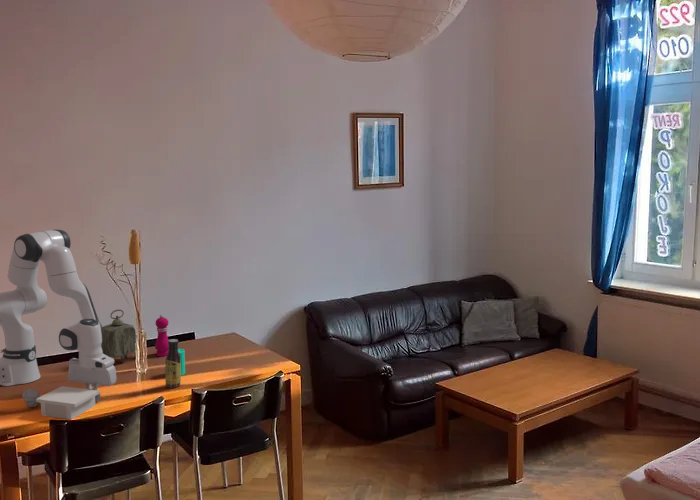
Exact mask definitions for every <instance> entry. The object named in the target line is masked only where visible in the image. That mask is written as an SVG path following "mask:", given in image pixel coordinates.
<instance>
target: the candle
mask: <svg viewBox="0 0 700 500" xmlns="http://www.w3.org/2000/svg"><path fill="white" fill-rule="evenodd" d="M178 352H179V353H180V356H181V376H183V375H185V374H186V361H185V360H186V358H185V355H186V354H185V349H184V348H178Z"/></svg>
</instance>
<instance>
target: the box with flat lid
mask: <svg viewBox="0 0 700 500" xmlns="http://www.w3.org/2000/svg"><path fill="white" fill-rule="evenodd" d="M99 393H100V390H98V389H97V390H89V389H87V388H80V387H79V388H78V387H70V386H63V385H61V386H59V387H58V388H55V389H53V390H51V391H49V392H48V393H45V394H43V395H41V397H39V398H37V399H36V402H39V404H40V411H41V412H40V413H41V416H43V417H44V416H45V417H50V418H51V417H52V418H57V419H65V420H72V419H74V418H76V417H79V416H80V415H81V414H83V413H85V412H87V411H88V410H90V409H92V408H94V407H95V406H96V402H95V396H96V395H98V394H99Z"/></svg>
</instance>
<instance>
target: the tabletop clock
mask: <svg viewBox="0 0 700 500" xmlns="http://www.w3.org/2000/svg"><path fill="white" fill-rule="evenodd" d="M115 312H116V313H117V312H121V313H122V314H121V315H120V316H119V315H116V316H115V317H113V316H112V315H113V314H115ZM124 314H125V313H124V311H123V310H122V309H115V310H112V312H111V313H110V316H109V317H110V319H113V320H112V322H111V323H109V324H106V325H104V326H102V327H103V331H104V332H103V337H102V344H101V348H102V351H103V354H105V355H107V356H108V357H111V358H113V359H116V358H120V364H124V363H125V360H124V359H127V358H128V355H130V354H132V353H133V352H135V351H136V349H135V343H136V344H137V335H136V329H135V327H134V325H132V324H128V323H125V322H123V320H122V319H121V318H122V317H123V316H124ZM123 358H124V359H123Z"/></svg>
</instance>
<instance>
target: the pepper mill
mask: <svg viewBox="0 0 700 500" xmlns="http://www.w3.org/2000/svg"><path fill="white" fill-rule="evenodd" d="M154 324H155V326H156V331H157V338H156V340H155V344H154V348H155V350H156V353H155V354H156V356H157V357H167V354H168V351H169V344H168V341H169V340H170V339H169V338H168V337H169V336H168V334H167V332H168V328H169V327H168V326H169V320H168V318H166V317H164V314H160V315H159V317H158V318H157V319H156V320H155V323H154Z"/></svg>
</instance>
